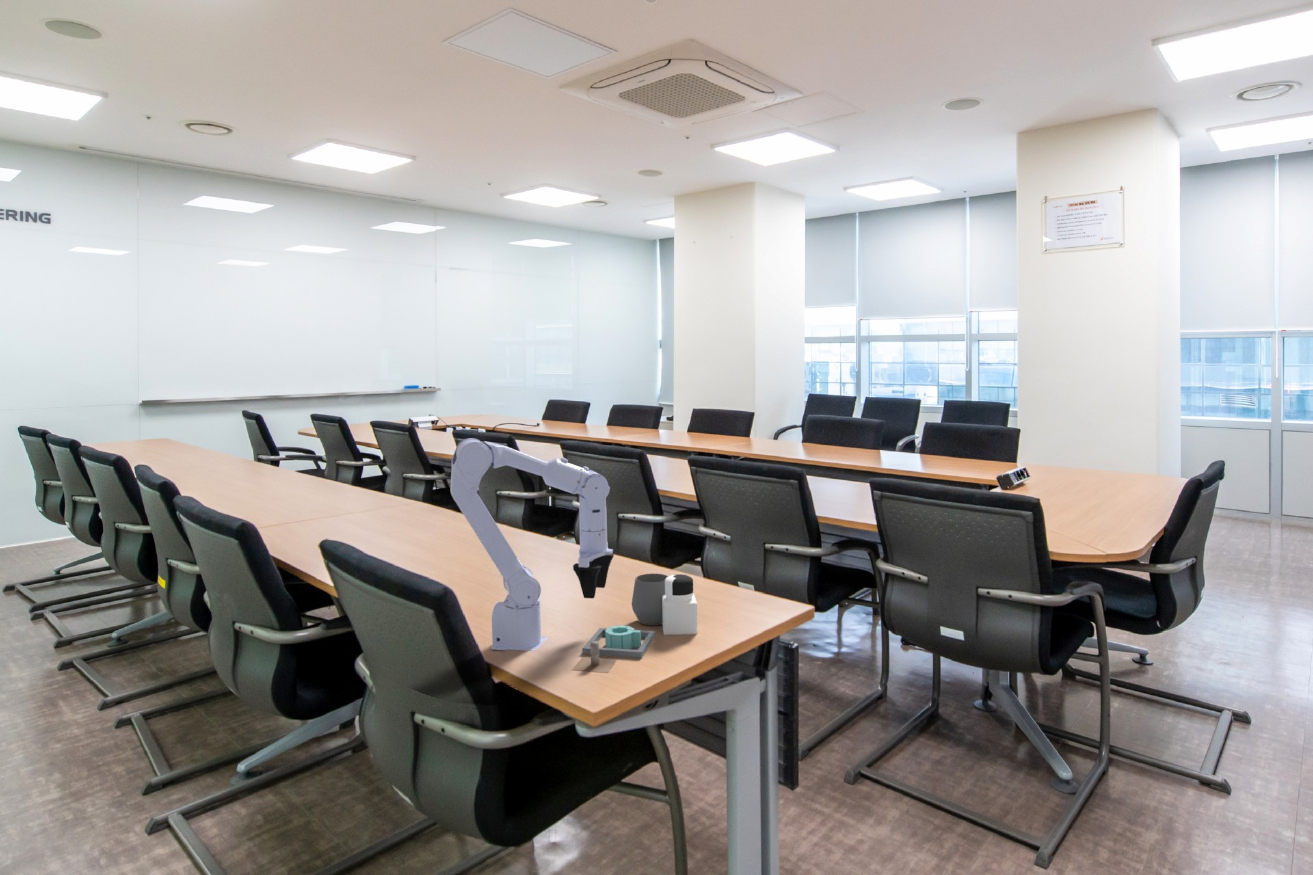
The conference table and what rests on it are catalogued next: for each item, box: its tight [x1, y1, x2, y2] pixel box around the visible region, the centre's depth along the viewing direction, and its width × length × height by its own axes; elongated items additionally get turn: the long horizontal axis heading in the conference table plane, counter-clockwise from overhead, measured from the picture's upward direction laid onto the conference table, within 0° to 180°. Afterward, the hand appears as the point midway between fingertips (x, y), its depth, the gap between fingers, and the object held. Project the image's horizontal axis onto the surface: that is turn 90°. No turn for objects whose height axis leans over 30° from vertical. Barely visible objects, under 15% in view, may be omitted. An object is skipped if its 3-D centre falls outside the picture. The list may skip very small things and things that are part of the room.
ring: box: [604, 625, 642, 650], centre depth 154 cm, size 7×6×3 cm
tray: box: [581, 627, 656, 659], centre depth 154 cm, size 12×12×2 cm
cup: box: [631, 572, 670, 626], centre depth 170 cm, size 10×9×10 cm
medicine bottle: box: [661, 574, 698, 636], centre depth 163 cm, size 7×7×12 cm
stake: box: [571, 641, 618, 674], centre depth 144 cm, size 7×7×5 cm
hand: (594, 592), depth 161 cm, fingers open, 7 cm apart
